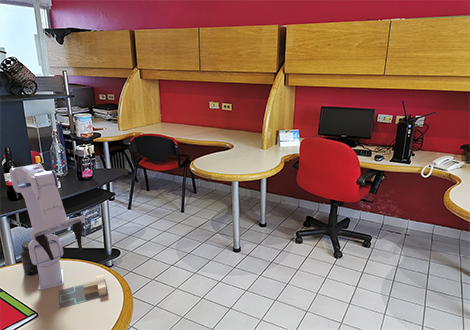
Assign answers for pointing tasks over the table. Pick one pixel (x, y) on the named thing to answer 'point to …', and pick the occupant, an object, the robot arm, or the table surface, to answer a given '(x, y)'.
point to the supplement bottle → (28, 260)
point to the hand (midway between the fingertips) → (66, 254)
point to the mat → (76, 296)
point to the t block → (95, 286)
